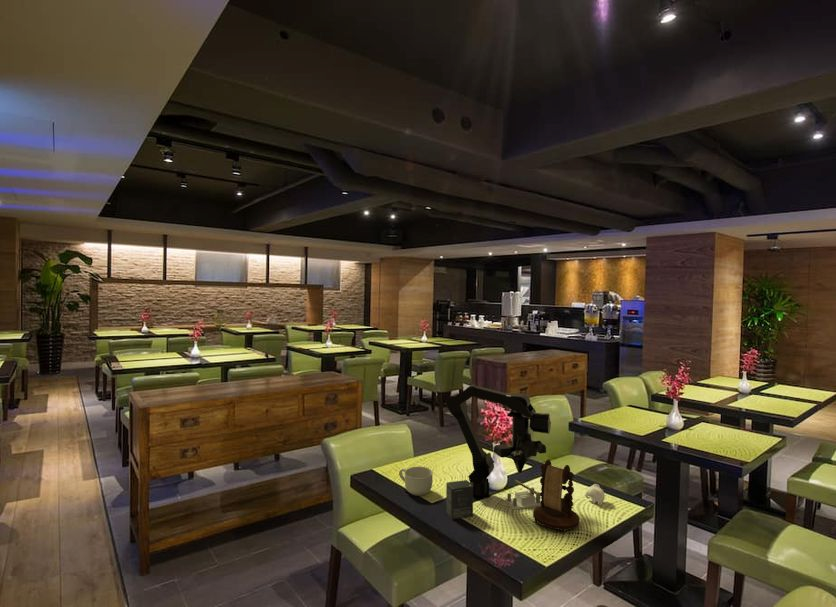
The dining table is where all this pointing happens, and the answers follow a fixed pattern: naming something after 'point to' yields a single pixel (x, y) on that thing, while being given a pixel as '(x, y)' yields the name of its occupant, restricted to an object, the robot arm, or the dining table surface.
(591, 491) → the elephant figurine
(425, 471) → the teacup
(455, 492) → the box
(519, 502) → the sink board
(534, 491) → the strap
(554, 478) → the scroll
